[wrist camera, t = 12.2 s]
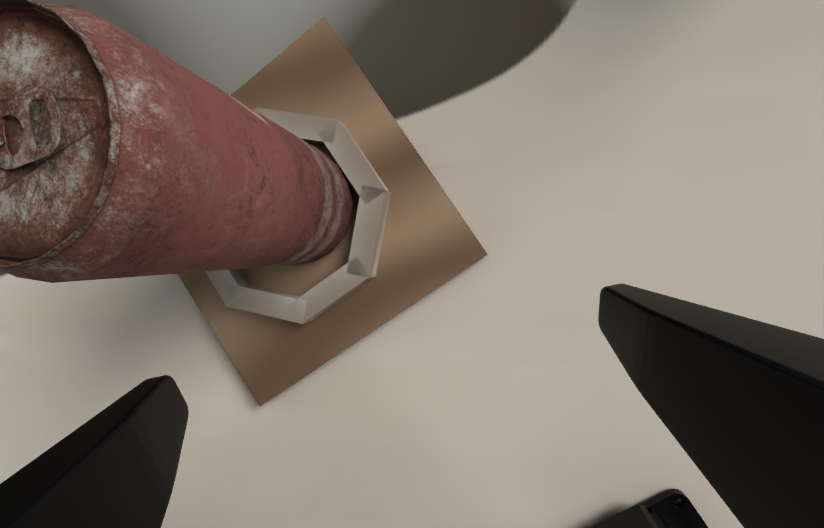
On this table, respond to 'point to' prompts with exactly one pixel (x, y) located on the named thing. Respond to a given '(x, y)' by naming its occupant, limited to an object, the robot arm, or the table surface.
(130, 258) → the can
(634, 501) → the table surface
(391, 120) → the cup holder
